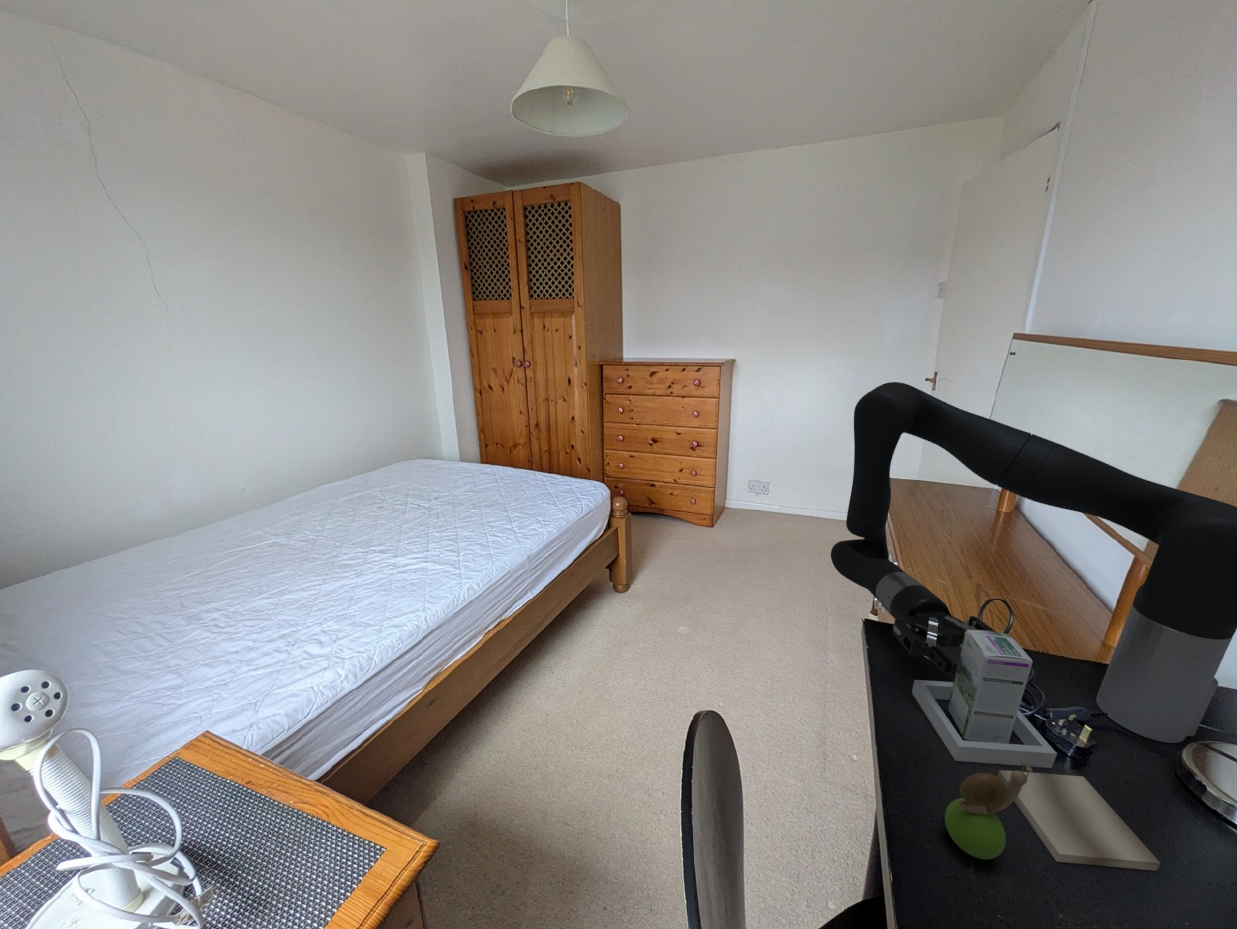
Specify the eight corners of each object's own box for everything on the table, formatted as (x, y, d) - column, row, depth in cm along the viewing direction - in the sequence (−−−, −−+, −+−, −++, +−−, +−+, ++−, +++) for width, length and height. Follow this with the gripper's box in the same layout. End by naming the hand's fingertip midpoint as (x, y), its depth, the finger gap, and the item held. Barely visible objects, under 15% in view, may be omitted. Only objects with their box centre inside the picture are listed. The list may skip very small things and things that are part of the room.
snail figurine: (1021, 872, 52) (1051, 789, 48) (960, 871, 52) (986, 788, 48) (984, 820, 57) (1010, 742, 53) (930, 820, 57) (951, 742, 53)
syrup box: (1009, 747, 66) (1037, 660, 62) (961, 740, 67) (985, 654, 63) (988, 714, 71) (1012, 632, 67) (944, 708, 73) (965, 627, 68)
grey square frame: (992, 697, 74) (996, 684, 74) (1051, 768, 63) (1057, 753, 62) (911, 692, 76) (914, 679, 75) (955, 760, 64) (959, 746, 63)
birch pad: (1080, 783, 61) (1083, 776, 61) (1156, 870, 52) (1160, 862, 51) (996, 776, 62) (999, 769, 62) (1056, 861, 52) (1059, 853, 52)
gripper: (873, 585, 82) (940, 649, 66) (953, 582, 82) (1038, 645, 67) (866, 622, 84) (929, 693, 69) (944, 619, 85) (1024, 688, 69)
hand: (983, 669), depth 68 cm, fingers open, 8 cm apart
